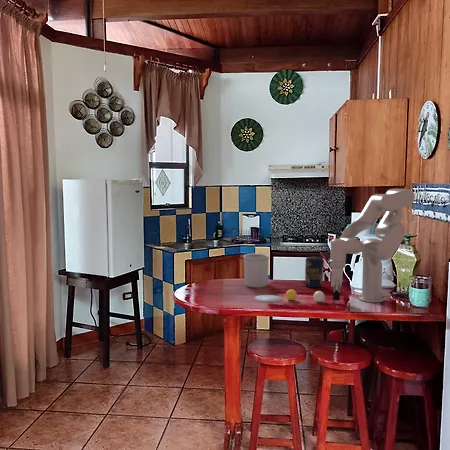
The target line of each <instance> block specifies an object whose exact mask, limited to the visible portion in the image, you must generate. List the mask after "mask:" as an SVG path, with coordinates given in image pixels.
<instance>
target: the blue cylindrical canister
mask: <svg viewBox="0 0 450 450" xmlns="http://www.w3.org/2000/svg"><path fill="white" fill-rule="evenodd" d="M304 265H305V267H304V270H305V271H304V273H305V274H304V277H305V278H304V279H305V280H304V285H305V286H306V287H309V288H320V287H321V286H322V283H323V258H322V257H320V256H318V255H317V256H316V255H313V256H307V257H305V264H304Z"/></svg>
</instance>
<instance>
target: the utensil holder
mask: <svg viewBox="0 0 450 450" xmlns="http://www.w3.org/2000/svg"><path fill="white" fill-rule="evenodd" d="M269 258H270V255H268V254H267V253H266V254H265V253H247V254H244V255H243V270H244V271H243V276H244V286H246V287H250V288H263V287H267V286H268V284H269Z"/></svg>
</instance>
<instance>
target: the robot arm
mask: <svg viewBox="0 0 450 450" xmlns="http://www.w3.org/2000/svg"><path fill="white" fill-rule="evenodd" d="M415 199H416V195H415V192H414V191H413V190H411V189H408V188H390V189H388V190H387V191H386V192H385V193H375V194H373V195H371V196H370V197H369V199H368V201H367V202H366V204H365V206H364V208H363V209H362V211H361V212H360V214H359V216H358V217H357V218H355V220H353V221H352V222H350V224H349V225H347V227H345V228H344V230H343V231H342V233H341V235H340V237H339V238H332V239H331V240H330V252H329V253H330V255H329V256H330V258H329V267H331V278H330V281H331V282H330V286H331V288H333V293H332V294H333V295H332V299H333V301H340V300H341V292H340V289H341V287H342V283H343V274H344V273H343V271H344V268H346V263H347V261H346V260H347V254H351V255H357V254H360V253H361V256H362V281H361V283H362V284H361V294H360V295H359V296H358V299H359V300H360V301H362V302H366V303H375V304H377V303H383V302H385V298H389V299H391V298H392V294H391V293H388V292H383V290H382V286H383V285H382V284H383V283H382V282H383V262H382V261H387V260H389V259H391V258H392V256H393V255H394V254H395V253H396V252H397V249H398V248H399V247H400V245H401V243H402V242H403V240H404V238H405V235H406V231H405V228H404V225H402V224H401V221H402V220H403V216H404V211H403V208H407V207H409V206H411V205H412V204H413V203H414V202H415ZM383 212H385V213H384V215H383V217H382V218H381V219H380V221H379V223H378V224H377V225H376V222H377V221H378V219H379V217H380V216H381V214H382V213H383ZM375 225H376V227H375V229H374V235H375V237H376V238H373V237H372V238H371V237H370V238H367V239H365V240H363V242H362V241H361V240H360V239H356V237H357V236H358V235H359V234H360V233H362V232H363V231H366V230H369V229H370V228H374V226H375ZM377 238H378V239H377Z"/></svg>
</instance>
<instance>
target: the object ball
mask: <svg viewBox="0 0 450 450" xmlns="http://www.w3.org/2000/svg"><path fill="white" fill-rule="evenodd" d="M297 295H298V293H297V292H296V290H295V289H288V290H287V291H286V293H285V297H286V299H287V300H289V301H295V300H296V299H297Z"/></svg>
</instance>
